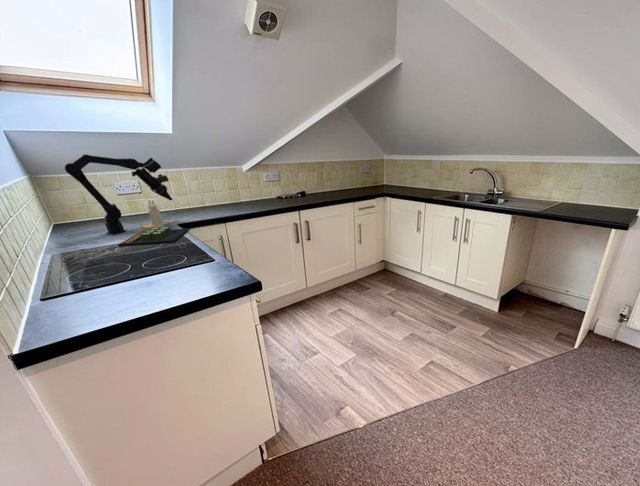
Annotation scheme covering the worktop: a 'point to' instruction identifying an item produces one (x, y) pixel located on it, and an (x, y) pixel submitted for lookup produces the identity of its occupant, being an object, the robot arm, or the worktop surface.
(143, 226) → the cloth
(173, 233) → the sushi
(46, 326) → the worktop surface
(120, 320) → the worktop surface
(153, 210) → the toy rabbit
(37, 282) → the worktop surface
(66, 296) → the worktop surface
